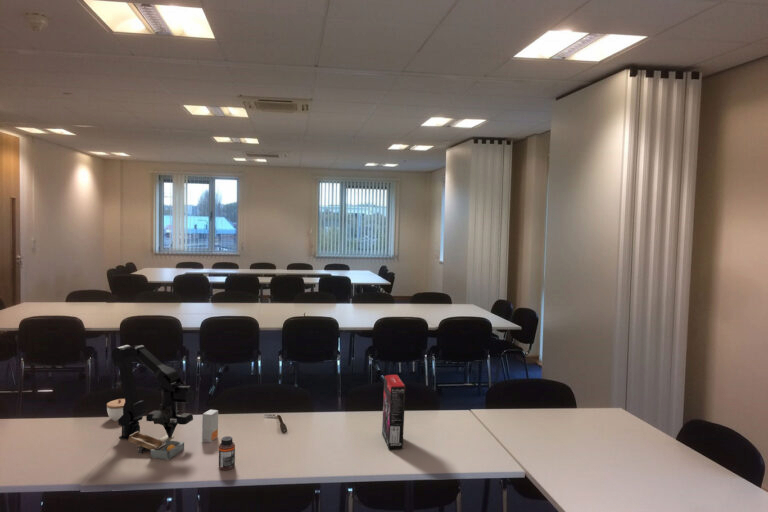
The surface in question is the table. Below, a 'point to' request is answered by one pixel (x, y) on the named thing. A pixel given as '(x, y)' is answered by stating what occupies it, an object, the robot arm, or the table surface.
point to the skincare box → (210, 426)
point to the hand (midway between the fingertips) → (170, 437)
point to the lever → (147, 440)
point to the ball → (170, 447)
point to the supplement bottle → (226, 453)
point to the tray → (168, 454)
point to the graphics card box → (393, 411)
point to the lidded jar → (115, 409)
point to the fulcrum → (142, 449)
